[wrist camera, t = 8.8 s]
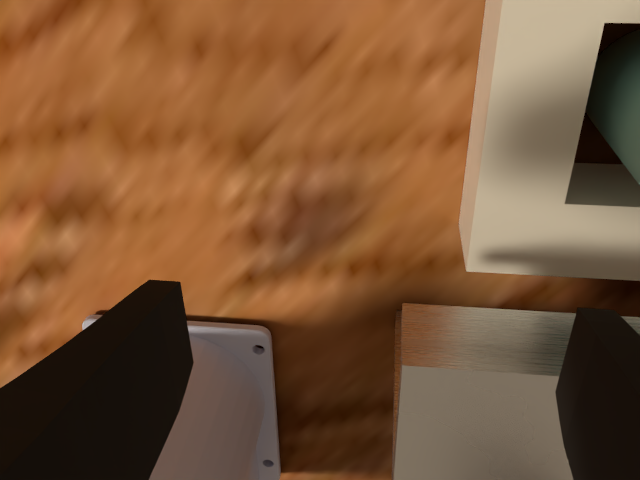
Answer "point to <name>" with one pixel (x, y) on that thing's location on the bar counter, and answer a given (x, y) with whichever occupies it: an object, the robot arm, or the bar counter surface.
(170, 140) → the bar counter surface
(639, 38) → the peg
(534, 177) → the socket block
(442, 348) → the grey angle bracket
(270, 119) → the bar counter surface
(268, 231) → the bar counter surface
